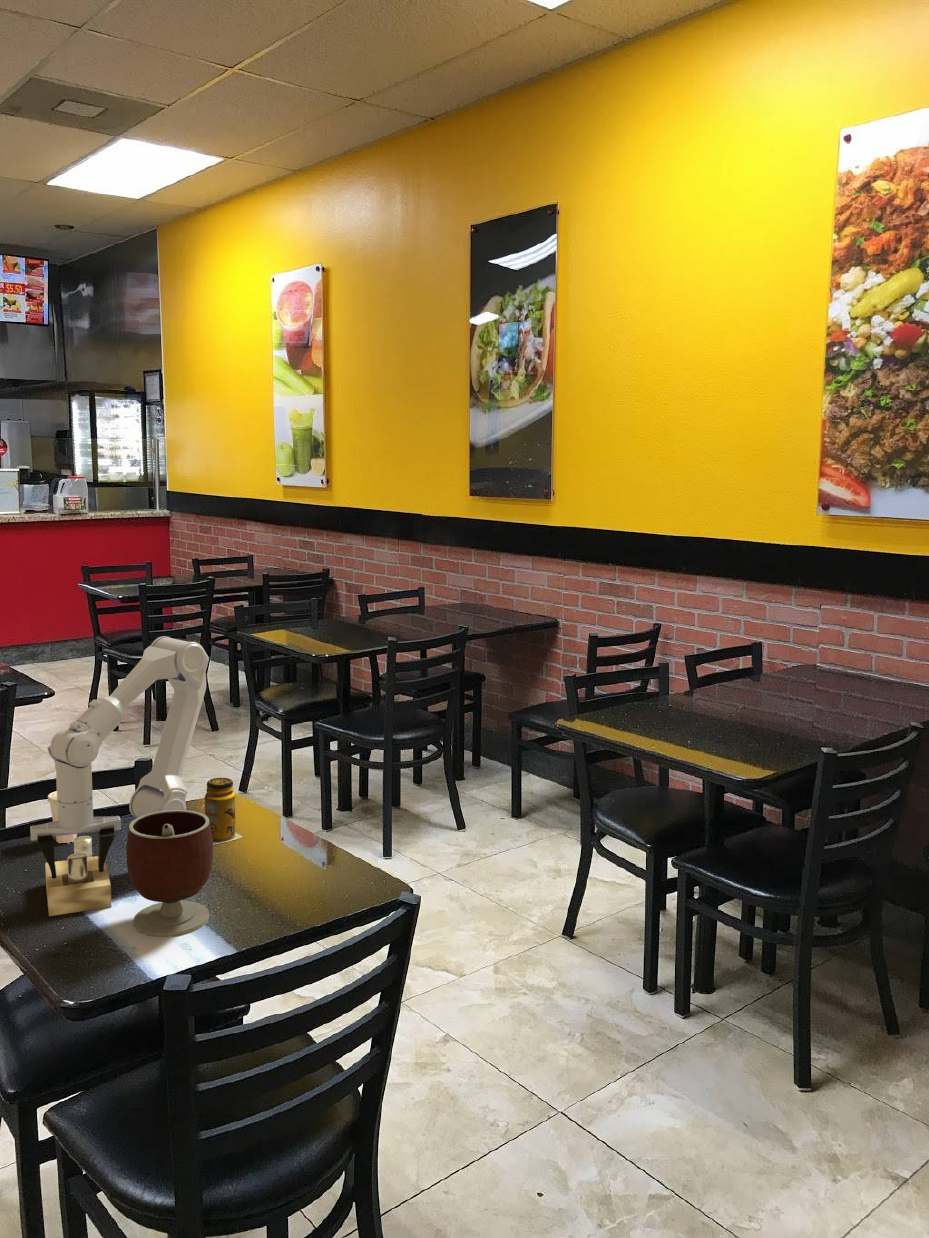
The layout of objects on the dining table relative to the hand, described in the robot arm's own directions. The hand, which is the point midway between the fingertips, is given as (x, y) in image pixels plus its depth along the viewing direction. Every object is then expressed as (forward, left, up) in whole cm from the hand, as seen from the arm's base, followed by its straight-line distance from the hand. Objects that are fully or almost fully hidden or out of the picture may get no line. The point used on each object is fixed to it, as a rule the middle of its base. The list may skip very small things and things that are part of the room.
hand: (77, 873), depth 175 cm
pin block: (+1, -2, -5) cm, 5 cm away
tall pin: (0, 0, -5) cm, 5 cm away
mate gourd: (-19, +6, -5) cm, 21 cm away
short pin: (+8, -18, -5) cm, 20 cm away
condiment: (-14, -32, -5) cm, 35 cm away
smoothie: (+15, -26, -5) cm, 30 cm away
